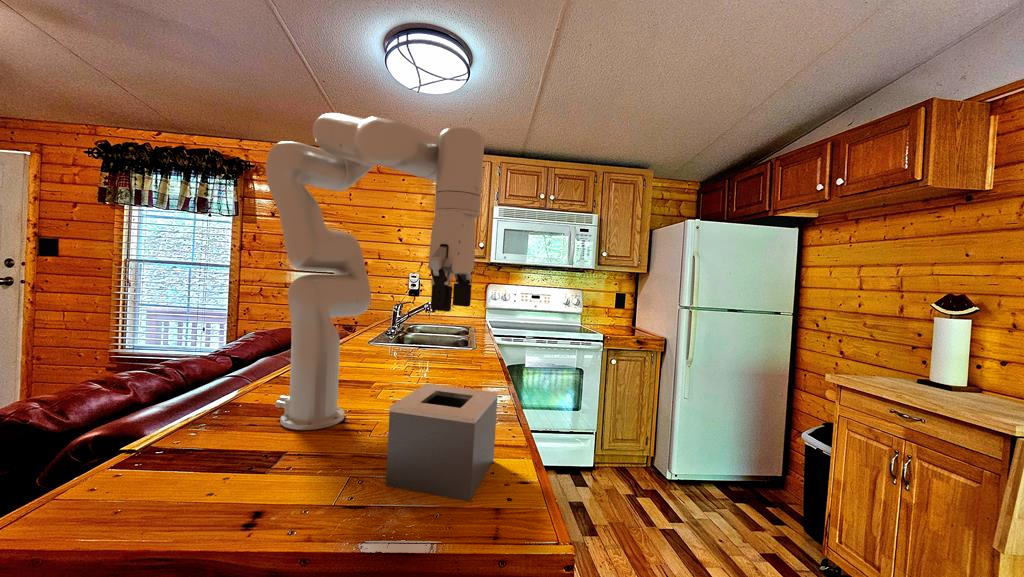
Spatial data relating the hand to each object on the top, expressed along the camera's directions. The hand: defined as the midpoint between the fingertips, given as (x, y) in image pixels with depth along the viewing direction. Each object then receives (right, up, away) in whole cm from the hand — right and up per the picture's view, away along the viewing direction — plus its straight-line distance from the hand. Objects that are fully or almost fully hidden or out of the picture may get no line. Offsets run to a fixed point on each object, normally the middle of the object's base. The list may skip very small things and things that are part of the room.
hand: (451, 308), depth 71 cm
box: (-1, -28, +1) cm, 28 cm away
